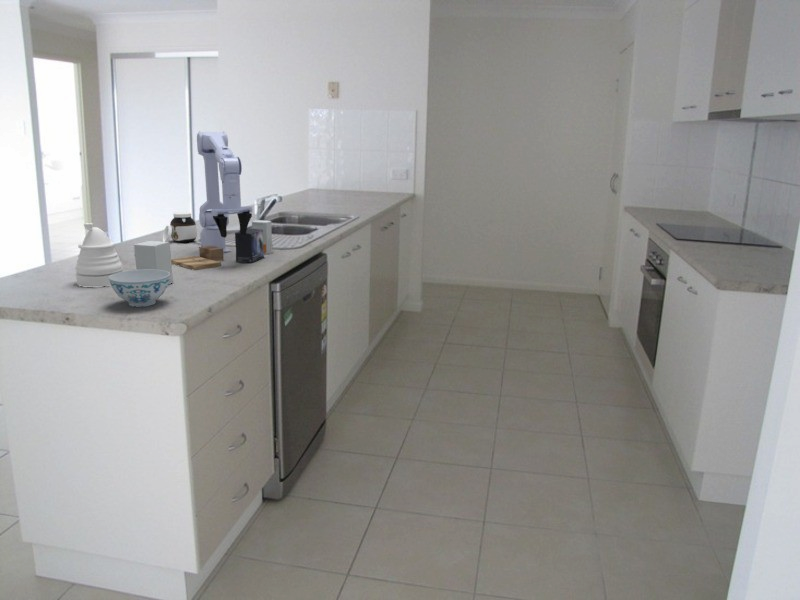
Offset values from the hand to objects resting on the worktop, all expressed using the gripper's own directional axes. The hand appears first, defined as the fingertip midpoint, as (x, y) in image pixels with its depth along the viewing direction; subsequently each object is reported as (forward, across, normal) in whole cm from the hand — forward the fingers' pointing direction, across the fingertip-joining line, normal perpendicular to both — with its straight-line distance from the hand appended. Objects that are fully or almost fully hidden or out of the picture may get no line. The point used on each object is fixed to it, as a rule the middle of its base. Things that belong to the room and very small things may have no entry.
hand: (233, 235), depth 221 cm
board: (+10, -8, +12) cm, 18 cm away
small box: (+11, +10, +5) cm, 16 cm away
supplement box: (+11, -32, -6) cm, 34 cm away
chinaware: (+11, -45, -23) cm, 52 cm away
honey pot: (+11, -42, +8) cm, 44 cm away
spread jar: (+11, +11, +55) cm, 57 cm away
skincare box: (+11, +21, +13) cm, 27 cm away
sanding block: (+11, 0, +15) cm, 18 cm away
